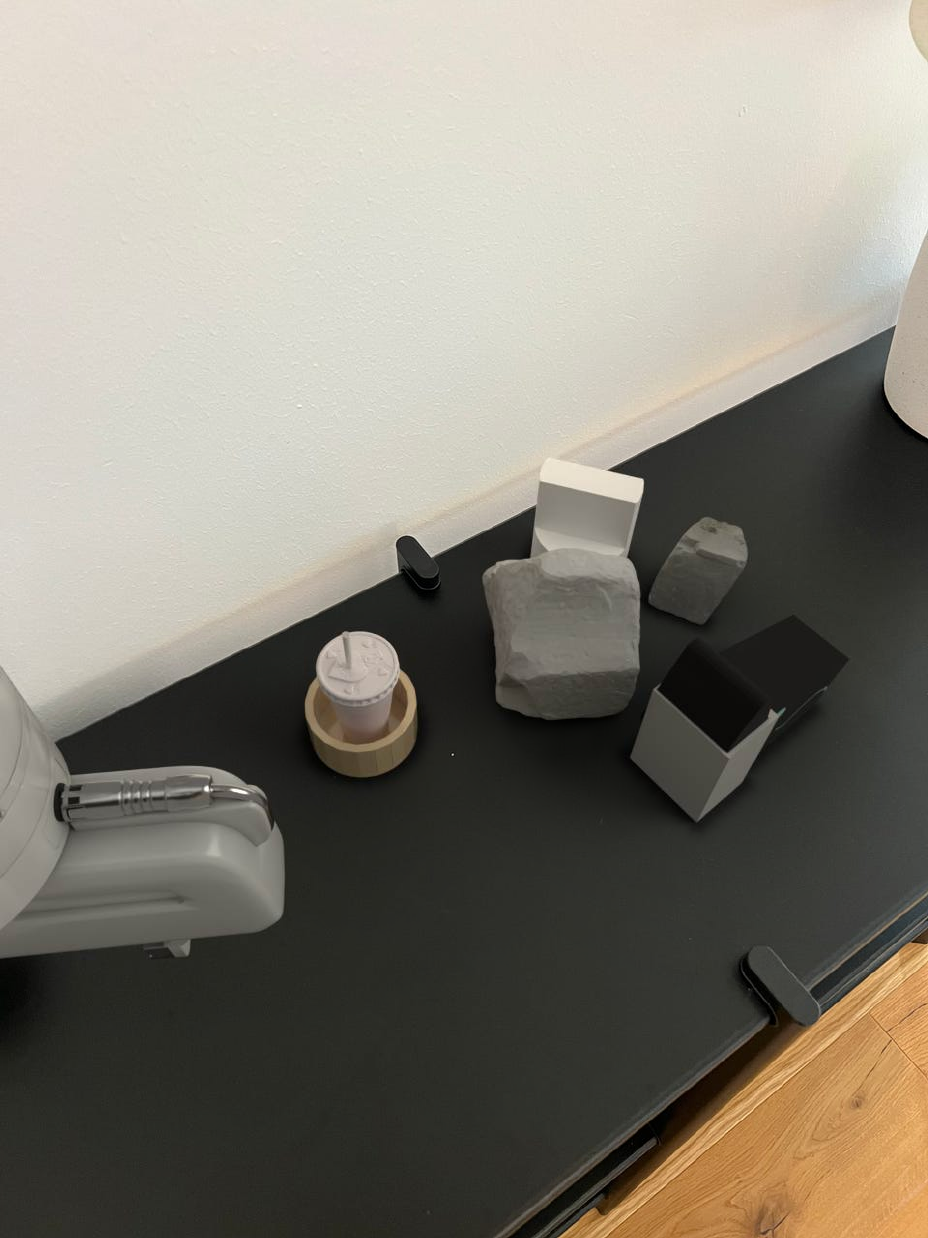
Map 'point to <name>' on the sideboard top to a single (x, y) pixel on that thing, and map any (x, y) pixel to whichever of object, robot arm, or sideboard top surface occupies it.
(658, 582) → the mineral specimen
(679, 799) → the decorative object
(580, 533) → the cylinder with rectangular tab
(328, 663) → the smoothie
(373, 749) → the tan hollow round container
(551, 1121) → the sideboard top surface
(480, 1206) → the sideboard top surface
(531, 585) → the stone
